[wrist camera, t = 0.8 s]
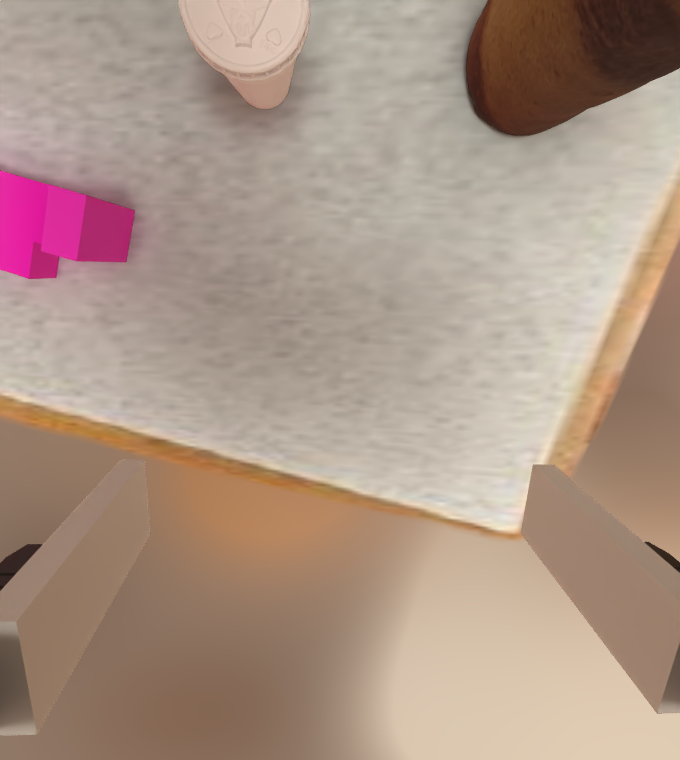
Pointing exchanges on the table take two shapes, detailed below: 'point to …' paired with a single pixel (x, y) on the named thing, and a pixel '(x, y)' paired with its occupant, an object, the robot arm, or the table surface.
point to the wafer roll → (566, 57)
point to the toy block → (57, 227)
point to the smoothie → (250, 42)
